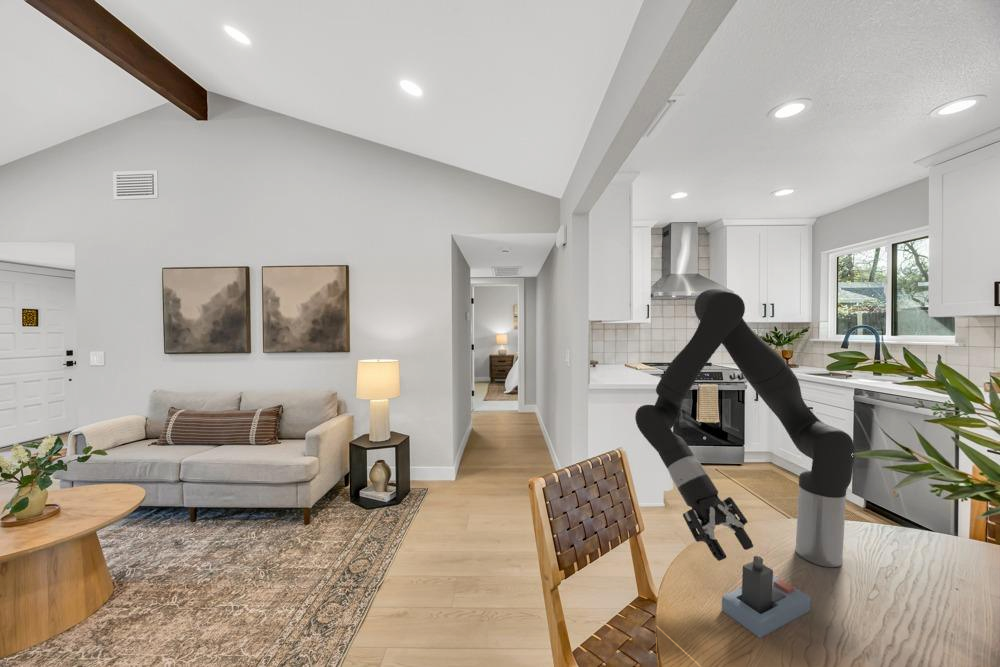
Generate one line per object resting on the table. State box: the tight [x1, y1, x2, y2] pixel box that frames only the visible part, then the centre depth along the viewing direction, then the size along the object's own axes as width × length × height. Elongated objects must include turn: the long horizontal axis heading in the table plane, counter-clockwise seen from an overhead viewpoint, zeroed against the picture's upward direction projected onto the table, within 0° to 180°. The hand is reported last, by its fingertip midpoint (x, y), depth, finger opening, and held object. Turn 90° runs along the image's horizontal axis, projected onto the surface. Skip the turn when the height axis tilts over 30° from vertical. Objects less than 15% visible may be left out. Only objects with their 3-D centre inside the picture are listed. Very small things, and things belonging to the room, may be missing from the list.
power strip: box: [721, 574, 812, 639], centre depth 86 cm, size 16×8×4 cm, turn 115°
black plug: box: [741, 555, 774, 614], centre depth 85 cm, size 4×4×12 cm
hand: (736, 553), depth 88 cm, fingers open, 8 cm apart
